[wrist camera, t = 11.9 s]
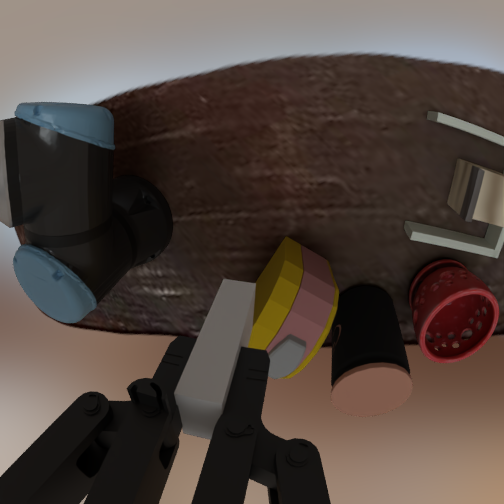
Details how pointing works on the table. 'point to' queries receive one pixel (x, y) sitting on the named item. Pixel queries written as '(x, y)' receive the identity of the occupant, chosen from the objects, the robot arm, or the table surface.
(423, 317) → the plant pot
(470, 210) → the beige block
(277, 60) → the table surface
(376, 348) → the coffee jar
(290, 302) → the alarm clock
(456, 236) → the dock
